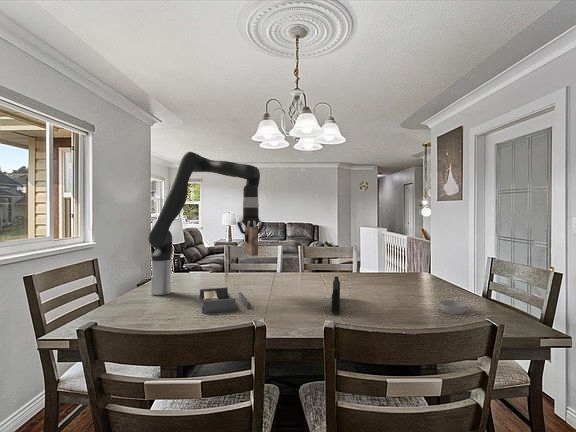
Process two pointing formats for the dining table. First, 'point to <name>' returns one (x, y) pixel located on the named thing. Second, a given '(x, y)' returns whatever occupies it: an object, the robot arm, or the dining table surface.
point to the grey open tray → (220, 301)
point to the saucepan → (453, 306)
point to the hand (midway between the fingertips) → (250, 242)
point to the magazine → (336, 296)
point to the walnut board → (251, 241)
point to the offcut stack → (210, 295)
